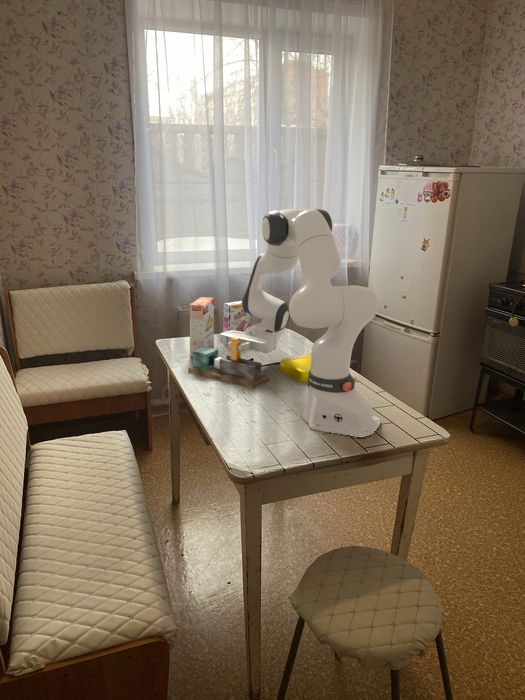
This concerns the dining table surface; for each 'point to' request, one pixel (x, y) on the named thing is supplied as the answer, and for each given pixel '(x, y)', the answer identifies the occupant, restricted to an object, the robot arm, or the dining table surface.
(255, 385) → the slide bolt latch board
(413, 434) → the dining table surface
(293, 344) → the dining table surface
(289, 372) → the element tile
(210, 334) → the cracker box
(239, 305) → the candy bar box
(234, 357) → the post on white base
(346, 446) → the dining table surface
